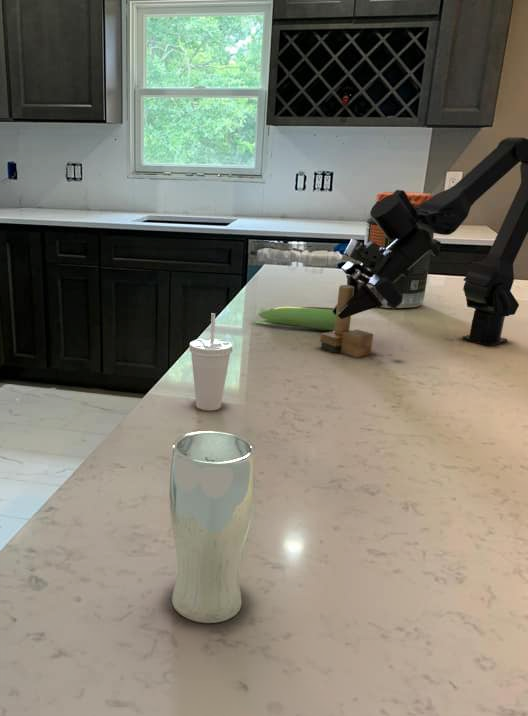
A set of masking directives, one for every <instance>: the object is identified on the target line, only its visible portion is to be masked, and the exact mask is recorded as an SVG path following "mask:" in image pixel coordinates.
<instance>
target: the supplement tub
mask: <svg viewBox="0 0 528 716" xmlns="http://www.w3.org/2000/svg"><path fill="white" fill-rule="evenodd" d="M394 192H395V191H379V192H377V194H376V198H375V204H376V203H377V202H378V201H380V200H382V199H383V198H385V197H386V196H388V195H391V194H393V193H394ZM404 192H405V193H406V194H407V197H408V199H409V201H410V202H411V204H412V205H413V207H414V208H416V207H420V206H421V205H422V203H424V202H425V201H427V200H428V199H430V198H431V197H433V196H432V193H426V192H413V191H404ZM416 224H417V226H418V223H416ZM418 227H419V226H418ZM419 228H420V227H419ZM428 233H429V235H430V236H431V238H432V239H434V234H435V233H431V232H428ZM364 234H365V235H364V242H363V244H367V243H368V242H370V241H371V242H374V243H376V244H378V245H379V246H380V247H384V248H387V247H389V246H390V245H391V244H392V243H393V242H394V241H395V240H396V239H395V238H394V239H388V238H387V237H386V236H385V234H384V233H383V232H382V230H381V229H380V228H379V226H378V225H377V223H376V222H375V221H374V219H373V218H372V217H371V215H370V212H369V213H368V215H367V218H366V225H365V233H364ZM430 263H431V254H429V253H426V254H425V255H424V256H423V257H422V258H421V259H420V260H419V261H417V262H416V263H415V264H414V265H413V266H412V267H411V268H410V269H409V270H408V271H409V272H410V274H409V275H408V276H407V277H405V276H401V277H400V278H399V279H398V280H397V281H396V282H394V285H395V286H396V287H397V288H398V290H399V291H400V292H401V293H402V295H403V299H402V303H401V304H400V305H399V306H397V307H396V308H395V309H403V308H404V309H405V308H407V309H409V308H416V307H419V306H420V305H422V304H423V303H424V300H425V295H426V288H427V283H428V276H429V269H430ZM381 303H382V304H383V306H382V307H381V308H385V309H391V308H390V307H389V306H388V305H387V301H386V300H385V299H384V300H383V301H382V302H381Z"/></svg>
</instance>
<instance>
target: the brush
mask: <svg viewBox="0 0 528 716" xmlns="http://www.w3.org/2000/svg"><path fill="white" fill-rule="evenodd" d="M354 288H355V287H354V286H350V285H347V284H341V285H339V286H338V294H337V302H336V304H337V311H336V319H335V328H334V331H327V332H323V333H320V340H319V343H320V344H321V345H320V346H321V347H320V350H323V351H324V350H325V351H327V352H330V353H333V354H337V353H341V344H342V336H343V332H346V331H351V329H350V327H351V319H352V315H351V316H349V317H346V318H343V319H340V318H339V316H338V313H339V312H340V311H341V310H342V308H343V307H344V306H345V305H346V304H347V302H348V301H349V300H350V299H351V298H352V297H353V296H354Z"/></svg>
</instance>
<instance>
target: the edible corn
mask: <svg viewBox="0 0 528 716" xmlns="http://www.w3.org/2000/svg"><path fill="white" fill-rule="evenodd" d="M333 309H334V307H323V306H322V307H321V306H278V307H274V308H271V309H269V310H264V311H261V312H260V313H258V316H259V317H260V318H261V319H263V320H255V321H253V322H254V323H257V324H264V325H273V326H287V327H294V328H295V327H296V328H304V329H310V330H317V331H327V332H332V331H334V328H335V319H336V315H335V314H334V313H333Z"/></svg>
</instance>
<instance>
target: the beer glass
mask: <svg viewBox="0 0 528 716" xmlns="http://www.w3.org/2000/svg"><path fill="white" fill-rule="evenodd" d="M255 452H256V447H255V445H254V443H252V441H250V440H249V439H247V438H246V437H244V436H241V435H239V434H235V433H231V432H225V431H217V430H216V431H215V430H206V431H203V430H202V431H195V432H190V433H186V434H184V435H181V436H180V437H178V438H177V439H175V441H174V442H173V445H172V457H171V465H170V473H169V474H170V475H169V491H168V492H169V493H168V494H169V495H168V496H169V514H170V521H171V522H170V523H171V528H172V535H173V540H174V546H175V552H176V558H177V573H176V579H175V584H174V587H173V591H172V597H171V602H172V606H173V609H174V610H175V611H176V612H177V613H178V614H179V615H180V616H182V617H183V618H185V619H187V620H189V621H192V622H196V623H201V624H218V623H222V622H226V621H229V620H230V619H232V618H233V617H235V616H236V615H238V613H239V612H240V610H241V608H242V593H241V585H240V565H241V561H242V560H241V559H242V555H243V552H244V548H245V544H246V541H247V537H248V534H249V530H250V527H251V521H252V518H253V517H252V516H253V512H254V505H255V504H254V502H255V489H256V488H255V487H256V467H255V466H256V465H255V463H256V462H255V459H256V458H255Z"/></svg>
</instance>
